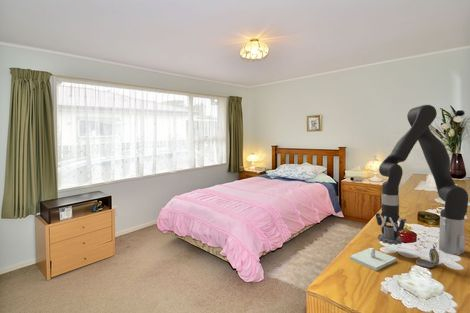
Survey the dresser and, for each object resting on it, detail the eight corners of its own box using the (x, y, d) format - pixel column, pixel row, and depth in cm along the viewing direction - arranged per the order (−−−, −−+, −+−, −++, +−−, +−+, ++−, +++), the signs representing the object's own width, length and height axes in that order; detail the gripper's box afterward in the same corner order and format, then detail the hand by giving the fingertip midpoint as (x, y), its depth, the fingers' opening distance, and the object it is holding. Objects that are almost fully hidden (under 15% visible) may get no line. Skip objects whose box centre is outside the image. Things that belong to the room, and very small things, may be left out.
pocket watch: (412, 262, 119) (413, 242, 118) (424, 259, 122) (425, 238, 121) (431, 271, 111) (432, 249, 110) (444, 267, 114) (444, 245, 113)
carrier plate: (396, 261, 121) (396, 248, 120) (375, 271, 113) (376, 257, 112) (370, 250, 132) (370, 239, 131) (349, 258, 124) (349, 247, 124)
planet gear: (406, 241, 128) (406, 227, 127) (395, 246, 123) (395, 232, 122) (385, 234, 137) (385, 222, 136) (373, 239, 132) (373, 226, 131)
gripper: (409, 204, 124) (409, 238, 125) (380, 198, 136) (380, 230, 138) (401, 207, 120) (401, 242, 122) (371, 201, 132) (371, 233, 134)
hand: (389, 235), depth 130 cm, fingers closed on planet gear, 5 cm apart
